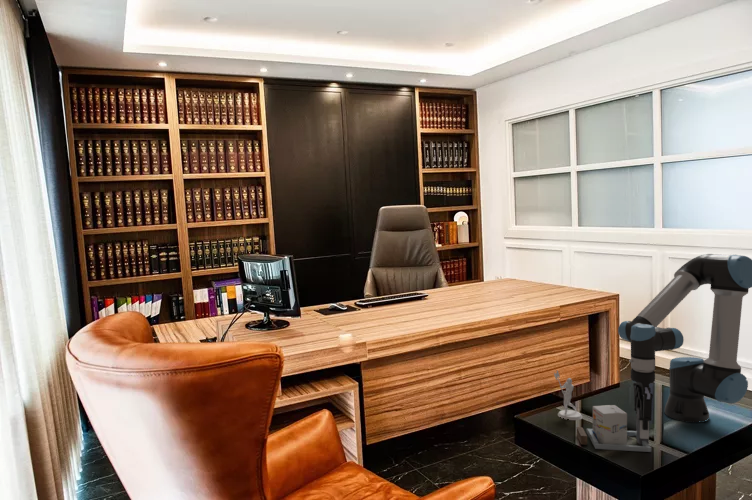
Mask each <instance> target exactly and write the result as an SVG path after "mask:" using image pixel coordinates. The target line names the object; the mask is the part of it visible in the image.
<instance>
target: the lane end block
mask: <svg viewBox="0 0 752 500" xmlns="http://www.w3.org/2000/svg"><path fill="white" fill-rule="evenodd" d="M576 437H577V439H578V440H579V443H580V444H581V445H585V446H586V445H588V434H587V432H586V431H585V429H584V428H583V427H581V426H577V427H576Z"/></svg>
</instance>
